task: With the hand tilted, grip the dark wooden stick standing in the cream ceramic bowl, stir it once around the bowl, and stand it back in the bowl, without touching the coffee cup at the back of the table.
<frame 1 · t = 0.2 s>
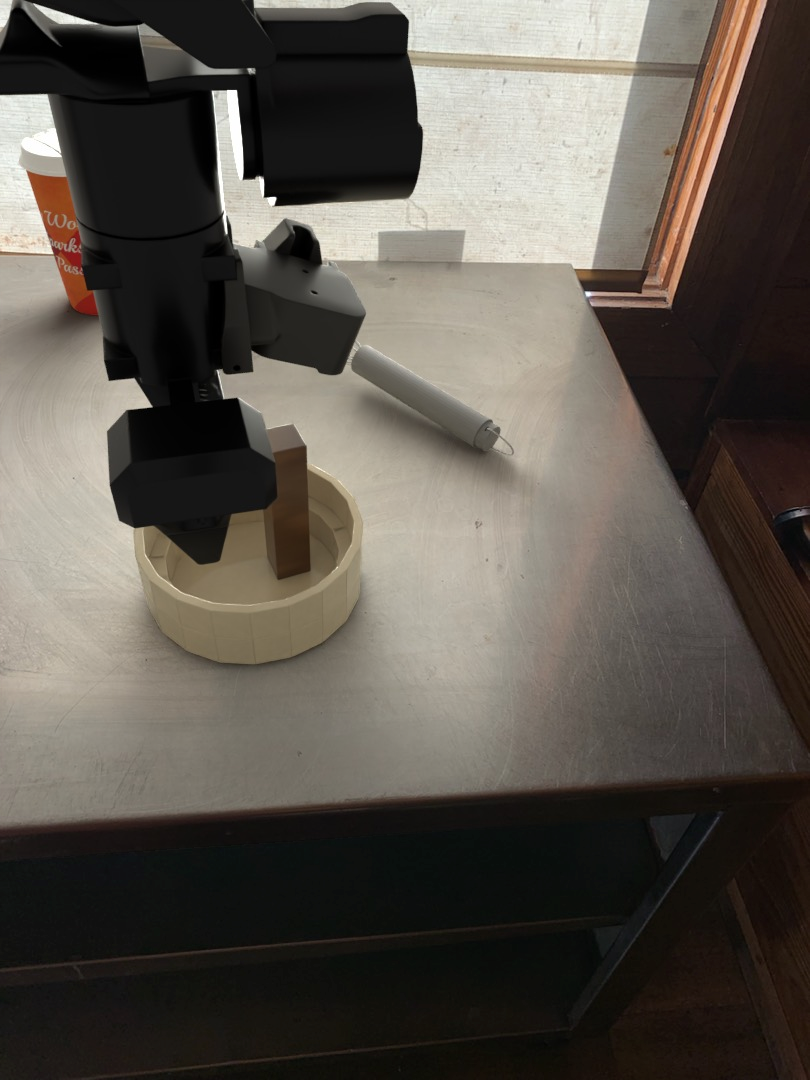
hand: (198, 500, 42), 12 cm above the table, tool pointing down, fingers open, 9 cm apart
coffee cup: (102, 302, 79), on the table
kitchen whisk: (359, 378, 72), on the table
bowl: (256, 583, 54), on the table
stir stick: (288, 564, 55), resting on bowl
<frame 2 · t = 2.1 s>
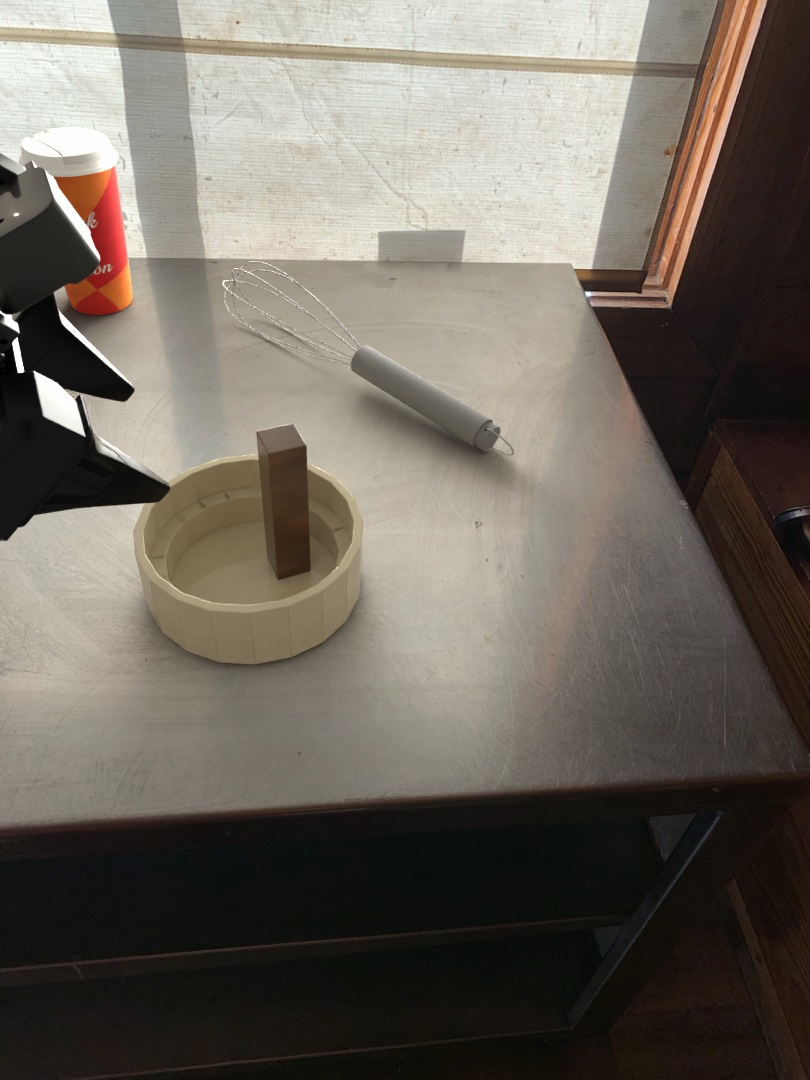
hand: (146, 440, 43), 13 cm above the table, tool tilted 45°, fingers open, 9 cm apart
nothing on the table moved.
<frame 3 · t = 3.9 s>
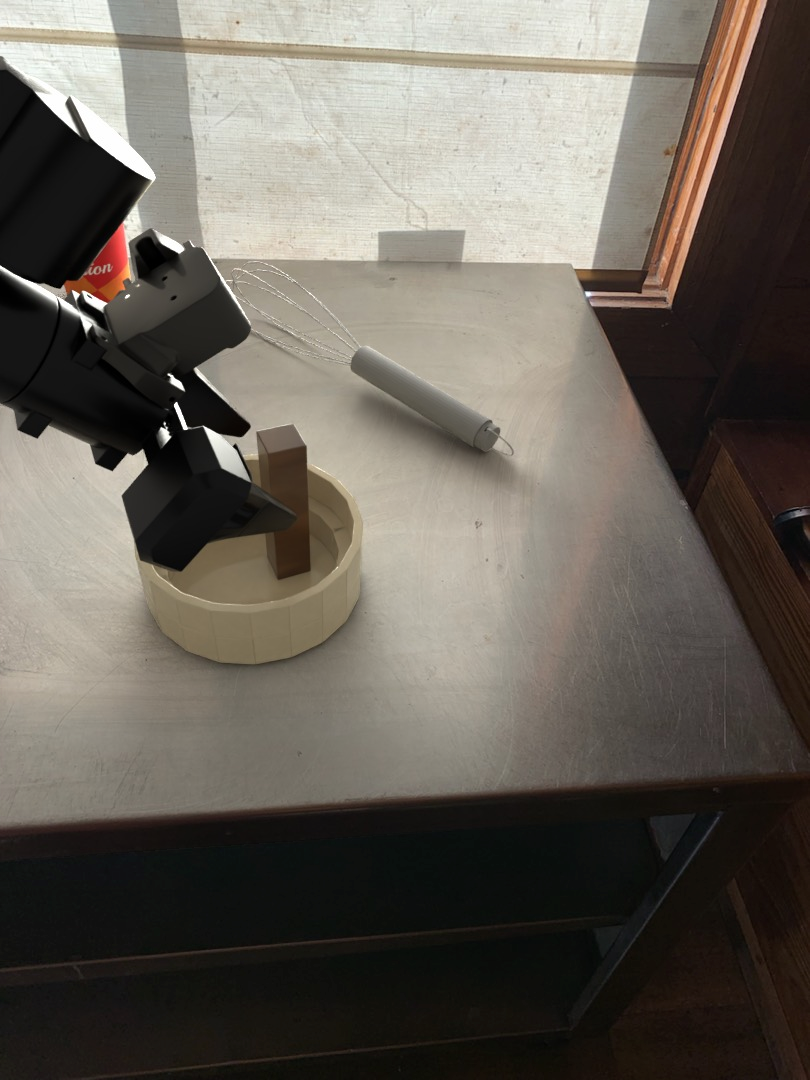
hand: (267, 474, 48), 9 cm above the table, tool tilted 45°, fingers open, 9 cm apart
nothing on the table moved.
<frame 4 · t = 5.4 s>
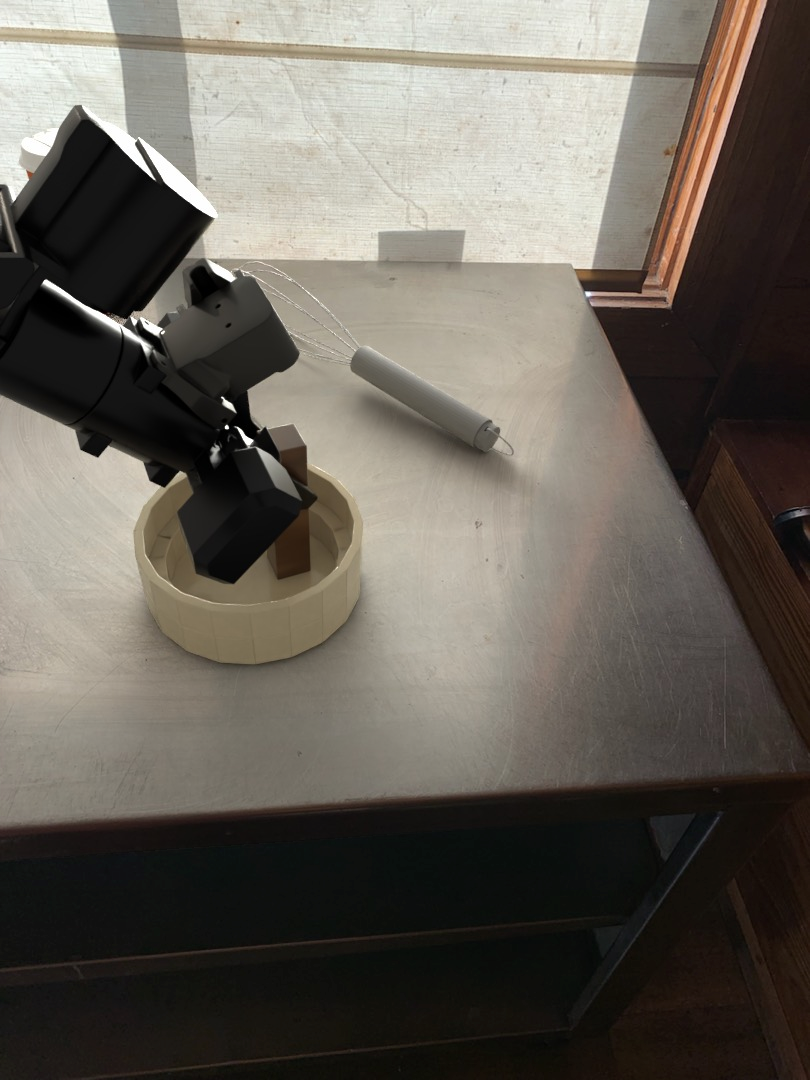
hand: (305, 488, 50), 7 cm above the table, tool tilted 45°, fingers closed on stir stick, 2 cm apart
stir stick: (288, 564, 55), point 1 cm above the table, touching bowl, gripper
everything else where it was.
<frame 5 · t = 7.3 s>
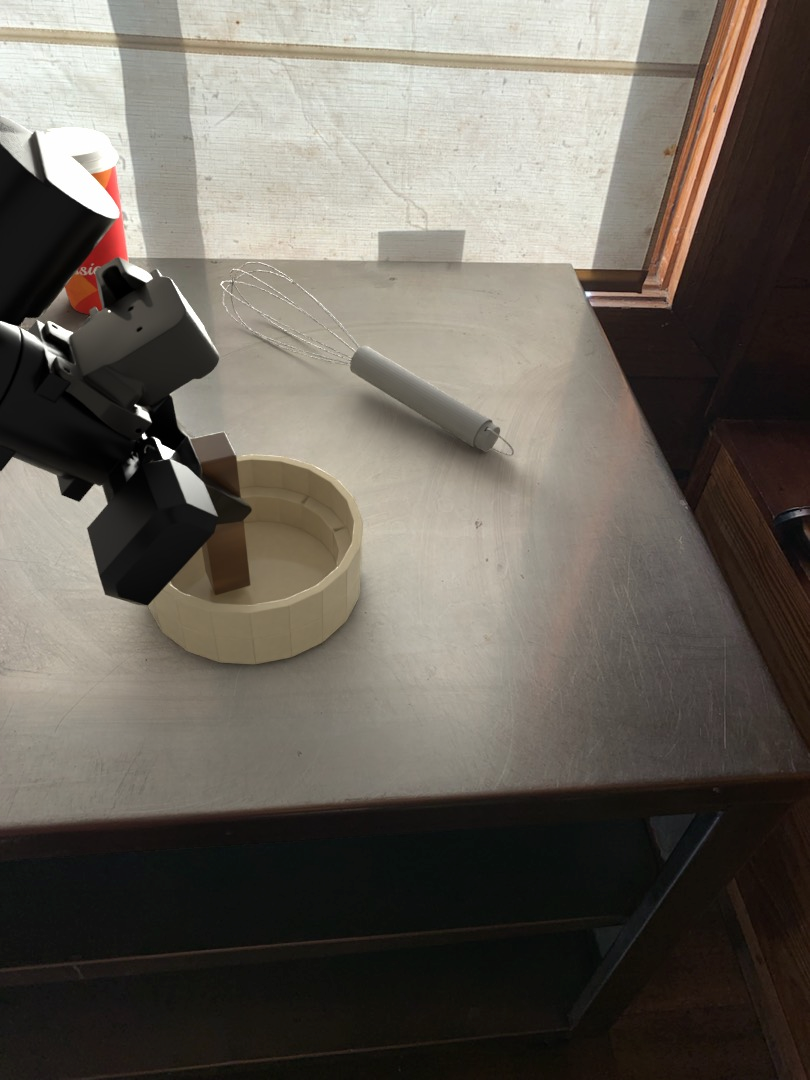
hand: (240, 500, 48), 8 cm above the table, tool tilted 45°, fingers closed on stir stick, 2 cm apart
stir stick: (228, 578, 52), point 1 cm above the table, touching gripper
everything else where it was.
when the fingers open (7 cm above the table, at t = 9.2 s): stir stick stays where it is, resting on bowl.
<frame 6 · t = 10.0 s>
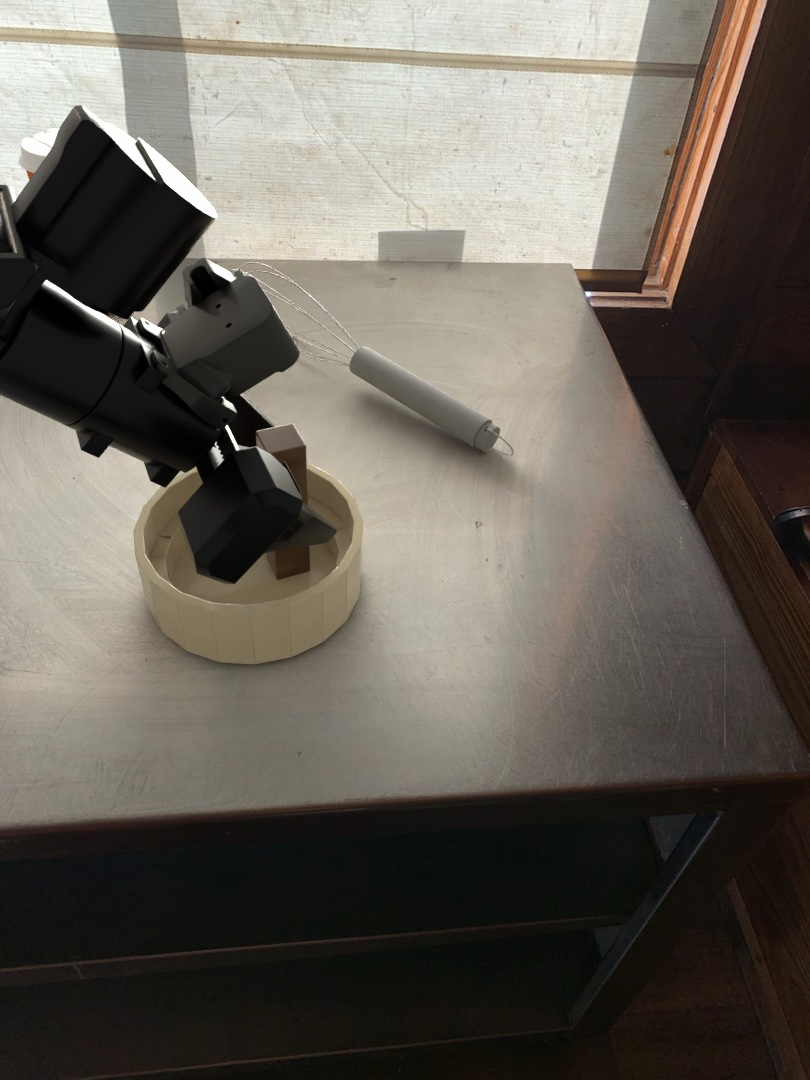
hand: (305, 488, 51), 7 cm above the table, tool tilted 45°, fingers open, 9 cm apart
stir stick: (288, 564, 55), point 1 cm above the table, touching bowl
everything else where it was.
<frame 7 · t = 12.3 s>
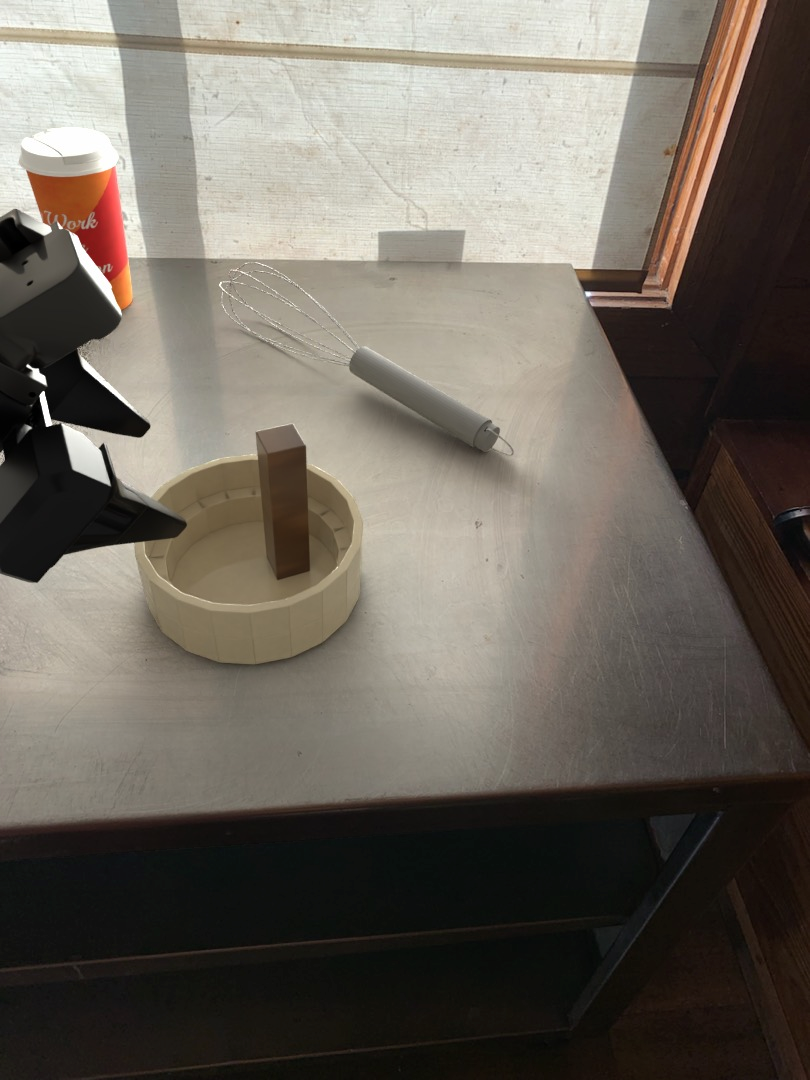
hand: (163, 476, 45), 11 cm above the table, tool tilted 45°, fingers open, 9 cm apart
nothing on the table moved.
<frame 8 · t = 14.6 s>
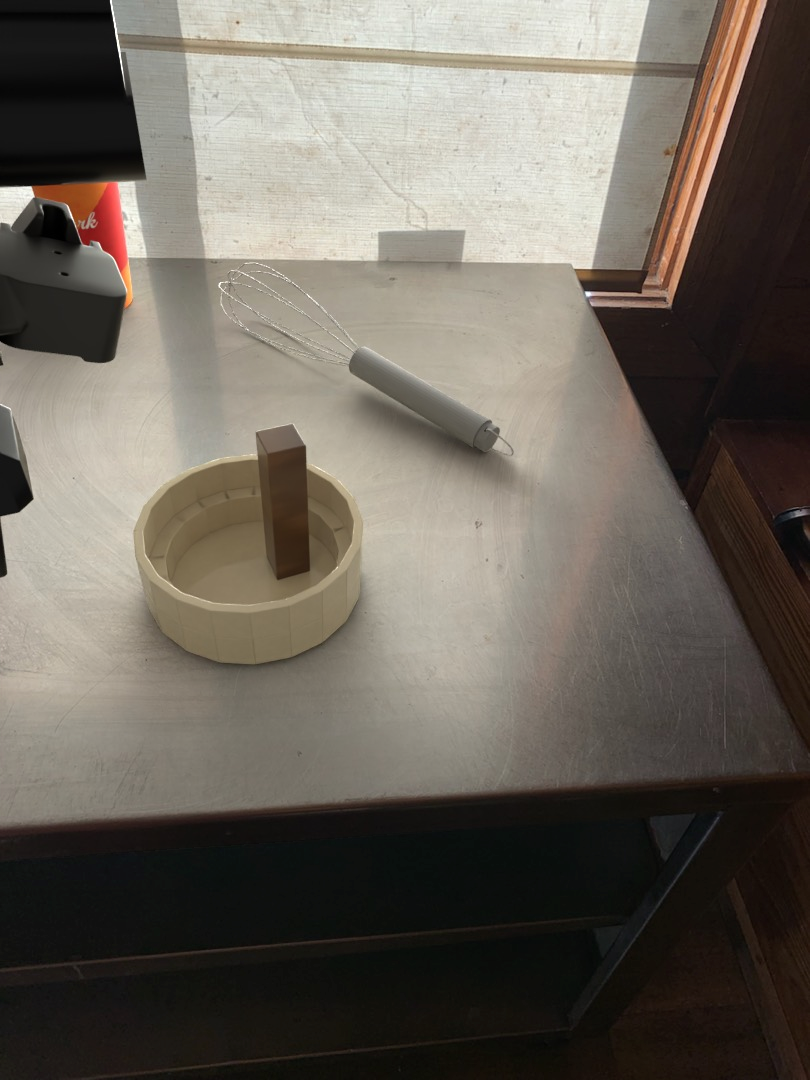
nothing on the table moved.
at the end: stir stick inside the target area in the bowl (2.5 cm from its centre), point 0.5 cm above the bowl's base; stir stick tilted 0°; coffee cup moved 0.2 cm from its start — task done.
